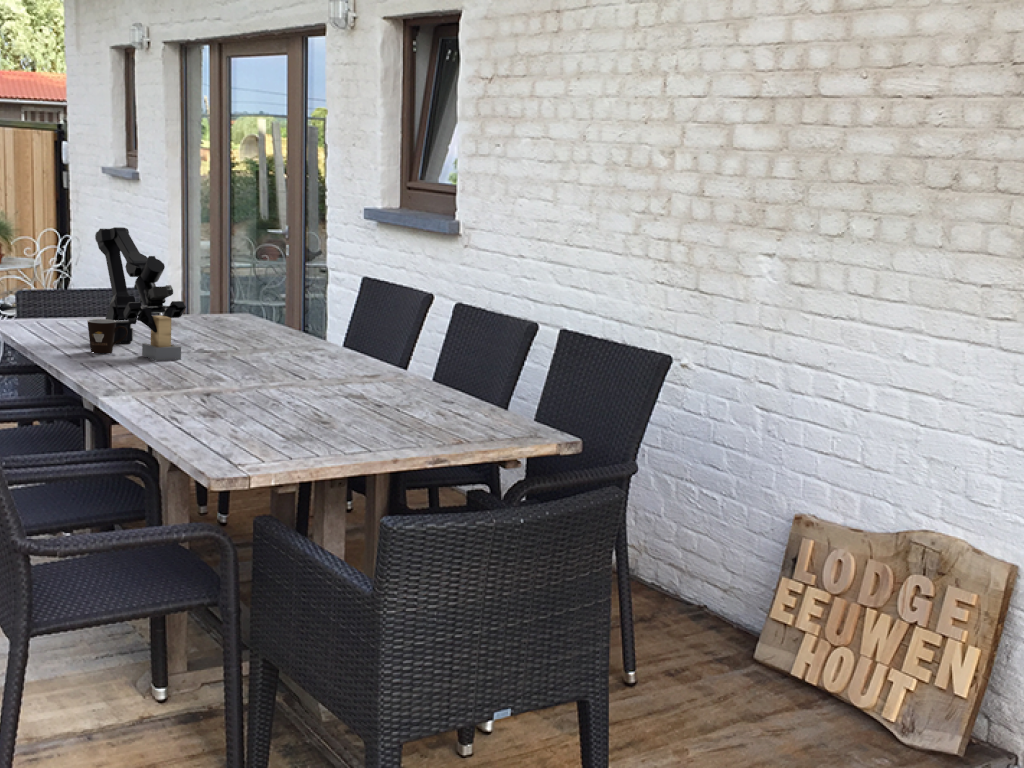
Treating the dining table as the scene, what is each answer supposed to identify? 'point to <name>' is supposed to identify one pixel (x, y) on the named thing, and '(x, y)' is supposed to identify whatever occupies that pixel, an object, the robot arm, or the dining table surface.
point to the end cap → (161, 352)
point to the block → (161, 331)
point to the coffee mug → (103, 335)
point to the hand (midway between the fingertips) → (162, 331)
